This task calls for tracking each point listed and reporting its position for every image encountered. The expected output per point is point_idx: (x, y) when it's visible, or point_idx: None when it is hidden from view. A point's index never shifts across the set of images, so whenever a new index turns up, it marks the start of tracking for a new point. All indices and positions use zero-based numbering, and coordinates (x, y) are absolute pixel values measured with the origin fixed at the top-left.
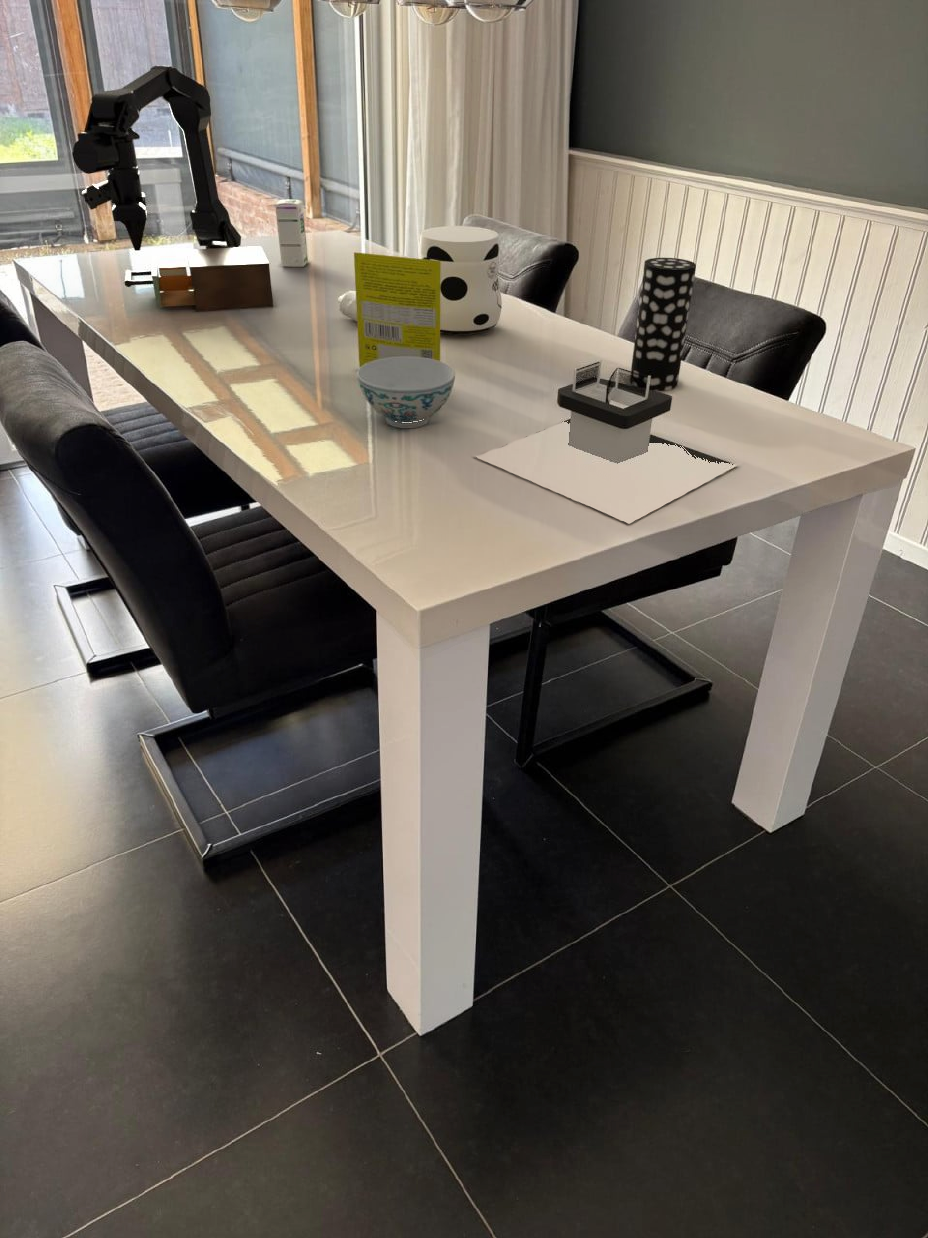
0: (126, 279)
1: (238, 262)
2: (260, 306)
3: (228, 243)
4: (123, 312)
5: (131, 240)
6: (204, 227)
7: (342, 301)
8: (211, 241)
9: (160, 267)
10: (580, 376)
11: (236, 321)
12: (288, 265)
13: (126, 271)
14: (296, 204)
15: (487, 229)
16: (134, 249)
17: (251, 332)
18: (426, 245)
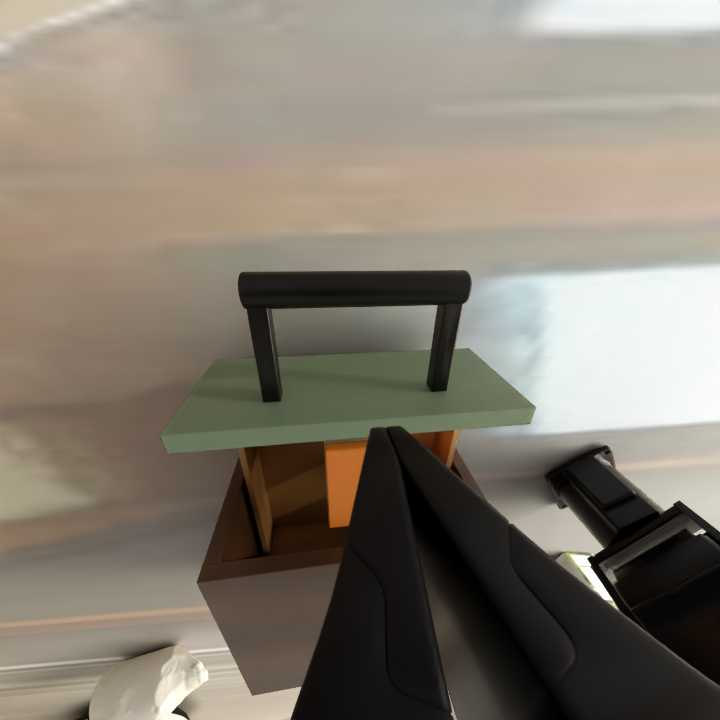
0: (259, 289)
1: (264, 658)
2: None
3: (598, 575)
4: (246, 229)
5: (357, 487)
6: (688, 599)
7: (150, 685)
8: (681, 529)
9: (328, 456)
10: None
11: (145, 519)
12: (557, 560)
13: (442, 284)
14: None
15: None
16: (371, 428)
17: (48, 547)
18: None
